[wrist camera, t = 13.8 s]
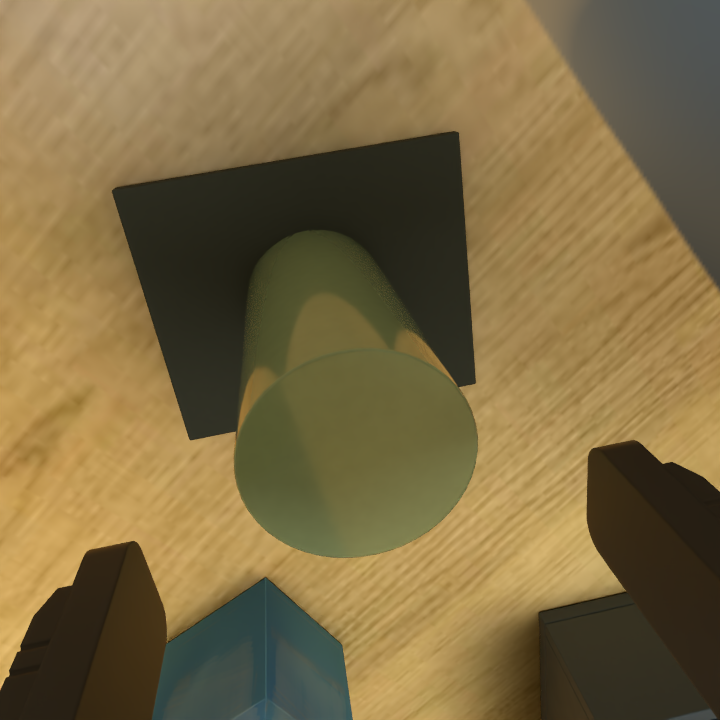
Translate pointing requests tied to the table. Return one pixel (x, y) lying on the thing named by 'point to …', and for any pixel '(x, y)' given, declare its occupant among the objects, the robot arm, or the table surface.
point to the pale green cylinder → (343, 406)
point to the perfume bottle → (254, 665)
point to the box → (611, 666)
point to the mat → (281, 219)
